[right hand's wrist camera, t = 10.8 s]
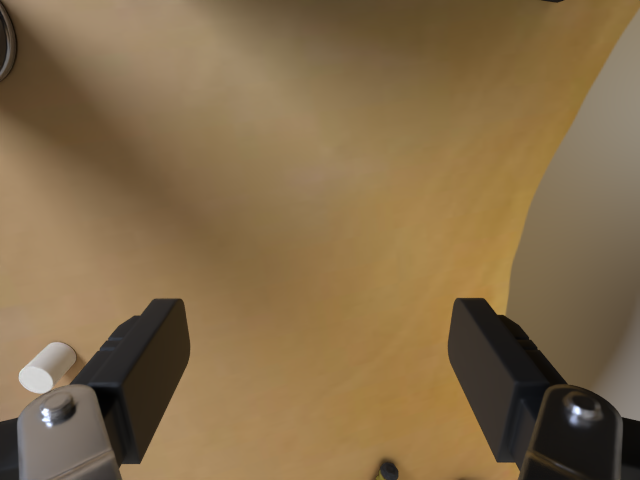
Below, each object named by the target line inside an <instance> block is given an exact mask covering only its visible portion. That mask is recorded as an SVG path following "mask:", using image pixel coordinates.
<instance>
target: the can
mask: <svg viewBox="0 0 640 480" xmlns="http://www.w3.org/2000/svg"><path fill="white" fill-rule="evenodd" d="M75 361H76V354H75V352H74V350H73V349H72V348H71V347H70V346H68V345H67V344H64V343H61V342H53V343H50V344H49V345H47V346H46V347H45V348H44V349H43V350H42V351H41V352H40V353H39V354H38V355H37V356H36V357H35V358H34V359H33V360H32V361H31V362H29V363H28V364H27V365H26V366H25V367H24V368H23V369H22V370H21V371H20V373H19V380H20V383H21V384H22V385H23V386H24V387H25V388H26V389H27V390H29V391H31V392H34V393H46V392H48V391H50V390H51V389H52V388H53V387H54V386H55V384H56V383H57V382H58V381H59V380H60V379H61V378H62V377H63V375H64V374H65V373H66V372H67V371H68V370H69V369H70V367H71V366H72V365H73V364H74V363H75Z"/></svg>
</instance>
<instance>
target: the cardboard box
mask: <svg viewBox="0 0 640 480" xmlns="http://www.w3.org/2000/svg"><path fill="white" fill-rule="evenodd" d="M543 1H550V2H560V1H563V0H543Z"/></svg>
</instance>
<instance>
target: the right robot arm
mask: <svg viewBox="0 0 640 480" xmlns="http://www.w3.org/2000/svg"><path fill="white" fill-rule="evenodd" d="M15 54H16V39H15V34H14V30H13V26H12V23H11V21H10V18H9V16H8V14H7V12H6V10H5V9H4V7H3V5H2V4H1V3H0V81H1V80H2V79H4V78H5V77H6V76H7V74H8V73H9V71H10V70H11V68H12V66H13V63H14V60H15ZM448 355H449V360H450V363H451V365H452V368H453V370H454V372H455V374H456V376H457V378H458V380H459V382H460V385H461V387H462V389H463V391H464V393H465V395H466V397H467V399H468V402H469V404H470V406H471V408H472V410H473V412H474V414H475V416H476V419H477V421H478V423H479V425H480V427H481V429H482V431H483V433H484V436H485V438H486V440H487V442H488V444H489V446H490V448H491V451H492V453H493V455H494V457H495V459H496V461H497V462H515V463H516V465H517V466H518V468H519V470H520V474H519V478H518V480H640V421H636V420H632V419H628V418H623V417H621V416H620V414H619V412H618V411H617V410H616V409H615V408H614V406H612V405H611V404H610V403H609V402H608V401H607V400H605V399H604V398H602V397H601V396H599V395H597V394H595V393H593V392H592V391H589V390H587V389H584V388H581V387H578V386H573V385H568V384H567V383H566V381H565V380H564V379H563V378H562V377H561V375H560V374H559V373H558V372H557V371H556V369H555V368H554V367H553V366H552V365H551V363H550V362H549V361H548V360H547V358H546V357H545V356H544V355H543V354H542V352H541V351H540V350H538V349H537V346H536V345H535V344H534V343H533V342H532V340H529V337H528V336H527V334H526V333H525V332H524V331H523V330H522V328H521V327H520V326H519V325H518V324H516V323H515V322H513V321H512V320H510V319H509V318H507V317H506V316H504V315H497V314H496V313H495V312H494V310H493V309H492V308H491V306H490V305H489V304H488V302H487V301H486V300H485V299H484V298H457V299H456V300H455V302H454V305H453V312H452V318H451V325H450V332H449V339H448ZM189 356H190V339H189V332H188V326H187V319H186V312H185V306H184V302H183V300H182V299H154V300H152V301H151V303H150V304H149V305H148V307H147V308H146V309H145V310H144V312H143V313H142V314H141V316H133V317H132V318H130V319H129V320H127V321H126V322H124V323H123V324H121V325H119V326H118V327H117V329H116V330H115V331H114V332H113V333H112V335H111V336H110V337H109V338H108V341H106V342H105V343H104V344H103V345H102V346H101V348H100V351H97V352H96V354H95V355H94V356H93V357H92V358H91V360H90V361H89V362H88V363H87V364H86V366H85V367H84V368H83V369H82V370H81V372H80V373H79V374H78V375H77V376H76V377H75V379H74V380H73V381H72V382H71V383H70V385H66V386H62V387H59V388H56V389H53V390H51V391H48V392H47V393H45V394H43V395H41V396H39V397H38V398H36V399H35V400H33V401H32V402H31V403H30V404H29V405H28V406H26V408H25V409H24V410H23V411H22V412H21V414H20V416H19V417H18V418H15V419H11V420H6V421H2V422H0V480H122V478H121V474H120V471H119V468H120V466H121V464H140V463H141V461H142V459H143V457H144V454H145V452H146V450H147V448H148V446H149V444H150V442H151V440H152V438H153V436H154V433H155V431H156V429H157V427H158V425H159V423H160V421H161V419H162V417H163V415H164V412H165V410H166V408H167V406H168V404H169V402H170V400H171V398H172V396H173V394H174V391H175V389H176V387H177V385H178V383H179V381H180V379H181V377H182V375H183V372H184V370H185V368H186V366H187V364H188V361H189Z"/></svg>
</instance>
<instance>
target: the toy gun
mask: <svg viewBox="0 0 640 480" xmlns="http://www.w3.org/2000/svg"><path fill="white" fill-rule="evenodd" d="M397 479H398V470H397V468H396V467H395V465H394V464H393V463H388V462H385V463H383V464H382V466H381V467H380V471H379V475H378V476H377V477H376V480H397Z"/></svg>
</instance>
